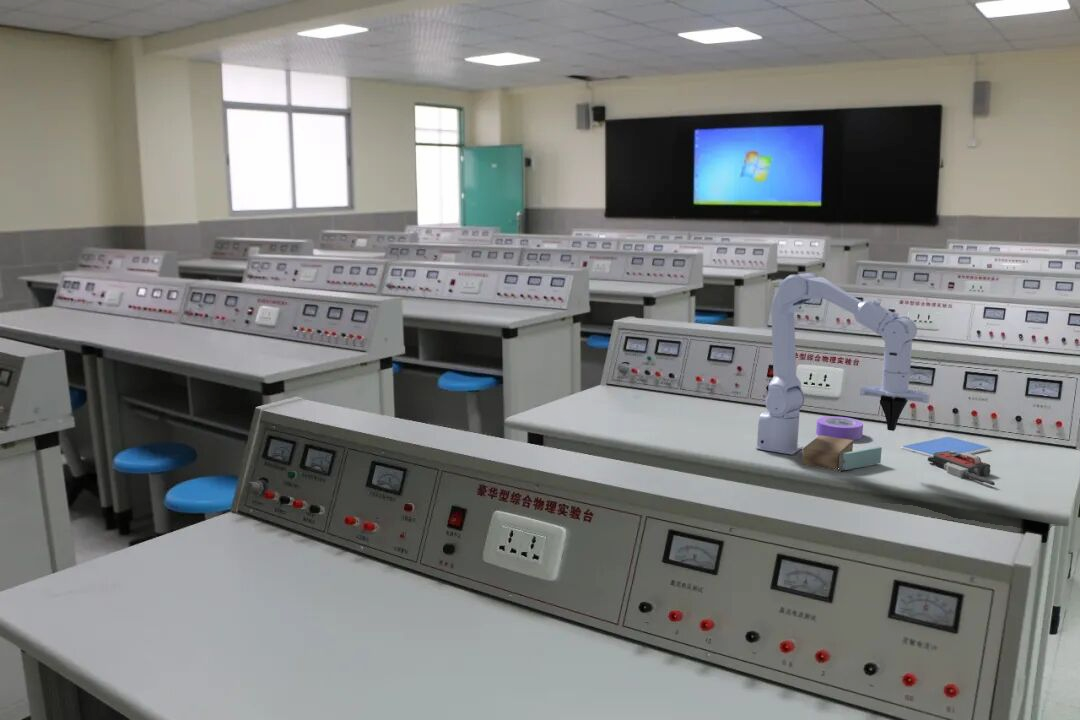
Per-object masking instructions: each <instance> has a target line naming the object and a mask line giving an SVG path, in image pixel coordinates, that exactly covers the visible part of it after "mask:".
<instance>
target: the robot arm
mask: <svg viewBox="0 0 1080 720" xmlns="http://www.w3.org/2000/svg"><path fill="white" fill-rule="evenodd" d="M815 299H816V300H817V299H819V300H820V299H824V300H826V301H827V302H829V303H831V304H834V305H836V306H838V307H840V308H841V309H843V310H845V311H848V312H849V313H851V314H853V316H854V320H855V321H856V322H857V323H858V324H860V325H861V326H864V327H865V328H867V329H868V330H870V331H872V332H874V333H876V334H877V335H879V336H881V337H882V340H883V341H884V350H883V362H882V376H881V386H870V385H869V386H867V385H861V387H860V391H859V396H863V397H865V396H867V397H868V396H869V397H877V398H880V400H879V404H880V406H881V409H882V411H883V413H884V417H885V421H886V427H887V431H892V432H894V431H895V430H896V428H897V424H898V421H899V419H900V416H901V414H902V412H903V410H904V409H905V407H906V405H907V403H908V401H909V402H910V401H912V402H918V403H920V402H921V403H923V404H929V402H930V396H931V394H930V393H928V392H922V391H918V390H917V391H916V390H912V389H911V390H910V389H909V385H910V374H911V363H912V349H913V348H912V347H913V341H912V340H913V339H915V337H916V335H917V333H918V329H917V325H916V323H915V322H914V321H913V320H912V319H911V318H910V317H909V316H900V315H899V313H898V312H897V311H893V312H892V311H891V310H889V309H887V308H885V307H883V306H882V305H881V302H880V301H878V300H873V301H872V300H870V299H868V300H864V301H861V300H860V299H858V298H857V297H855V296H854V295H852V294H850V293H848V292H847V291H845V290H843V288H841V287H839V286H838V285H836V284H834V283H833V282H831V281H830V280H828V279H827V278H825V277H822V276H819V275H817V274H816V273H815V272H806V273H800V274H789V275H788V276H786V277H785V278H784V279H783V280H781V281H780V282H779V283H778V289H777V292H776V294H775V296H774V298H773V300H772V303H771V305H770V306H771V307H770V310H771V311H770V312H771V313H770V315H771V334H772V335H771V338H772V339H771V340H772V342H771V343H772V365H773V366H772V367H773V368H772V369H773V377H772V379H771V380H770V382H769V383H768V387H767V388H768V391H767V395H766V397H765V400H764V403H765V407H766V409H767V411H768V412H767V411H763V412H761V414H760V416H759V418H758V425H757V442H756V443H757V445H756V447H755V449H756V450H762V451H767V452H772V453H773V452H775V453H779V454H784V455H785V454H786V455H791V456H792V455H795V454H796V453H797V452H799V451H800V450H801V449H803V448H804V447H803V445H799V444H798V441H799V428H800V427H799V425H800V409H801V408H802V407H803V406H804V404H805V401H806V398H805V393H804V392H803V388H802V384H801V383H802V382H801V379H799V378H798V376H797V361H796V360H797V359H796V335H795V334H796V332H795V331H796V329H795V327H796V325H795V312H796V311H797V310H798V309H799V308H800V307H801V306H803V305H804V304H805V303H807V302H809V301H810V300H815ZM856 322H855V323H856Z"/></svg>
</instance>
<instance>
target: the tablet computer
mask: <svg viewBox="0 0 1080 720" xmlns="http://www.w3.org/2000/svg"><path fill="white" fill-rule="evenodd" d="M900 449H901V450H904V451H907V452H911V453H915V454H919V455H921V456H925V457H927V458H928V457H933V454H934V453H937V452H944V451H957V452H956V453H957V454H959V453H969V454H972V455H974V454H979V453H983V452H986V451H987V452H988V451H990V450H991V447H990V446H987V445H983V444H979V443H975V442H970V441H968V440H967V441H966V440H963V439H959V438H955V437H951V436H945V437H940V438H935V439H932V440H931V439H930V440H926V441H922V442H917V443H911V444H906V445H902V446H900Z"/></svg>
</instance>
